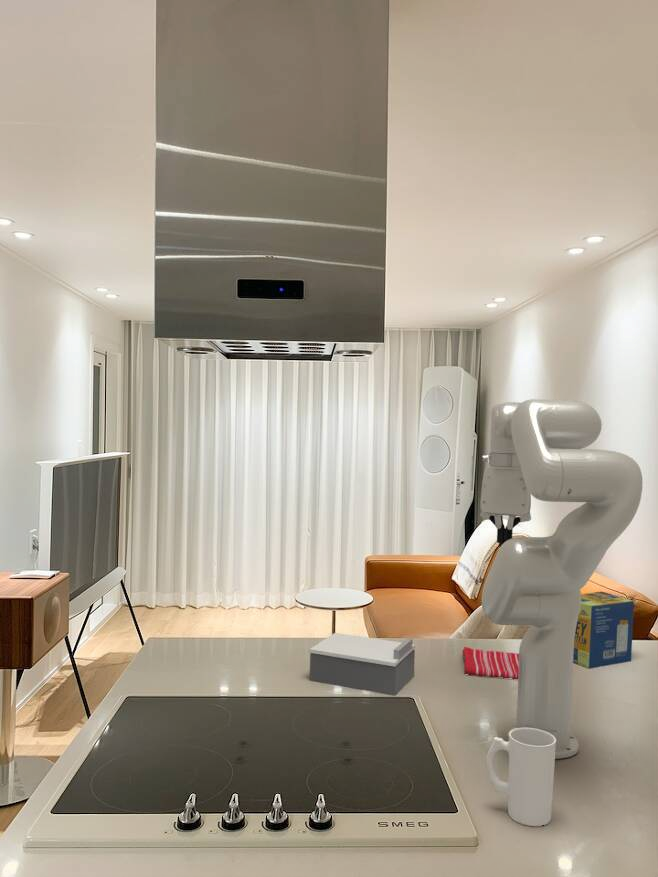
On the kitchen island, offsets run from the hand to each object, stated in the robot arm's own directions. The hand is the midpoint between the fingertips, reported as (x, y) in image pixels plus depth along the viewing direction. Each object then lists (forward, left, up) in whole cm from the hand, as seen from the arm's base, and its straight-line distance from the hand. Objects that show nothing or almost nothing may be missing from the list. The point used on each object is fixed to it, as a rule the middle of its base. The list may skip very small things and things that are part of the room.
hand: (504, 546), depth 163 cm
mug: (-49, -12, -32) cm, 60 cm away
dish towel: (+20, +1, -33) cm, 38 cm away
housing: (-4, +30, -32) cm, 44 cm away
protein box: (+37, -17, -32) cm, 52 cm away
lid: (-4, +30, -26) cm, 40 cm away
